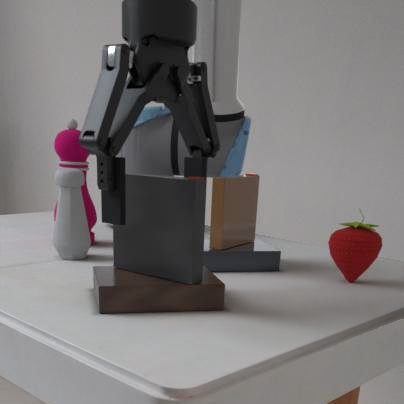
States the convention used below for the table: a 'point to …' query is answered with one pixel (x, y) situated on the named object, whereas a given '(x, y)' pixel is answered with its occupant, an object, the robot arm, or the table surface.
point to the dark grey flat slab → (162, 227)
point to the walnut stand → (154, 292)
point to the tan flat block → (233, 210)
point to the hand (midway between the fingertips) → (156, 219)
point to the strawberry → (354, 248)
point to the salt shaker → (71, 216)
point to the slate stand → (242, 257)
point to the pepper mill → (75, 166)
